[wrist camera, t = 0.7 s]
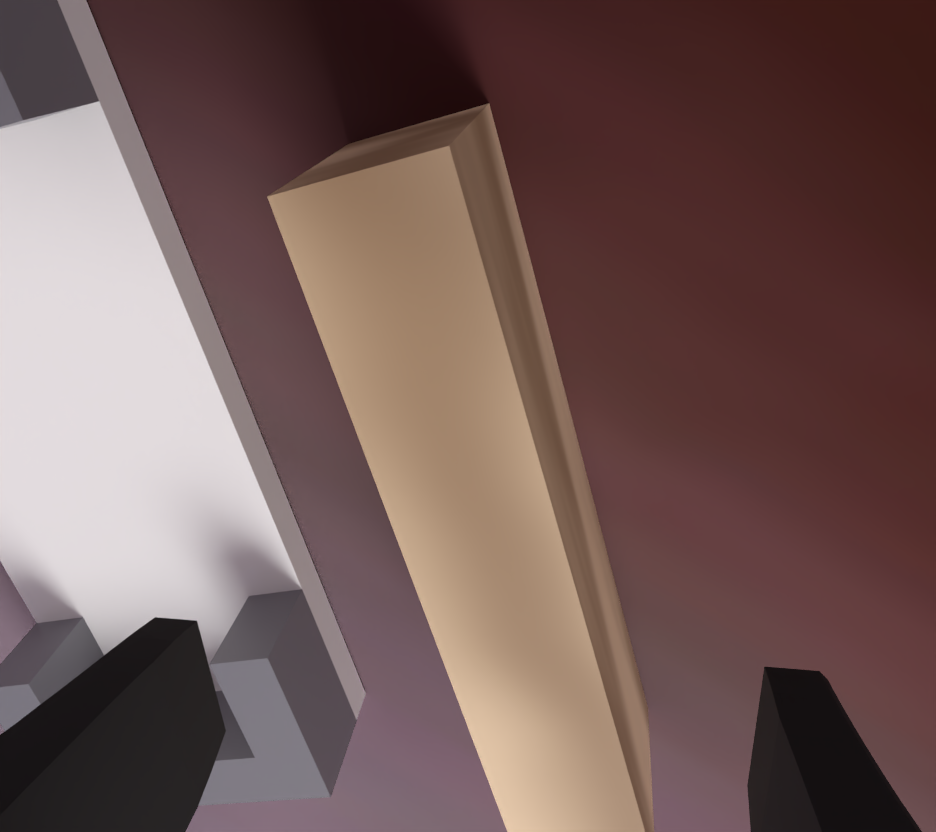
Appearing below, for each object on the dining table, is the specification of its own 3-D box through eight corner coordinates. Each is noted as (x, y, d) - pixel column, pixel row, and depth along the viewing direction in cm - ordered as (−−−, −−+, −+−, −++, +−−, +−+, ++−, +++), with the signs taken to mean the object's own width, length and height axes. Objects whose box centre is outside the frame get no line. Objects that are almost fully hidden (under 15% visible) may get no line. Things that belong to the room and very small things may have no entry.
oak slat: (540, 713, 24) (524, 876, 20) (351, 142, 18) (267, 196, 14) (647, 702, 24) (656, 869, 19) (490, 101, 17) (448, 145, 13)
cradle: (122, 716, 27) (58, 814, 23) (-299, -31, 18) (-486, -31, 15) (365, 693, 25) (330, 796, 22) (23, -155, 16) (-117, -187, 13)
